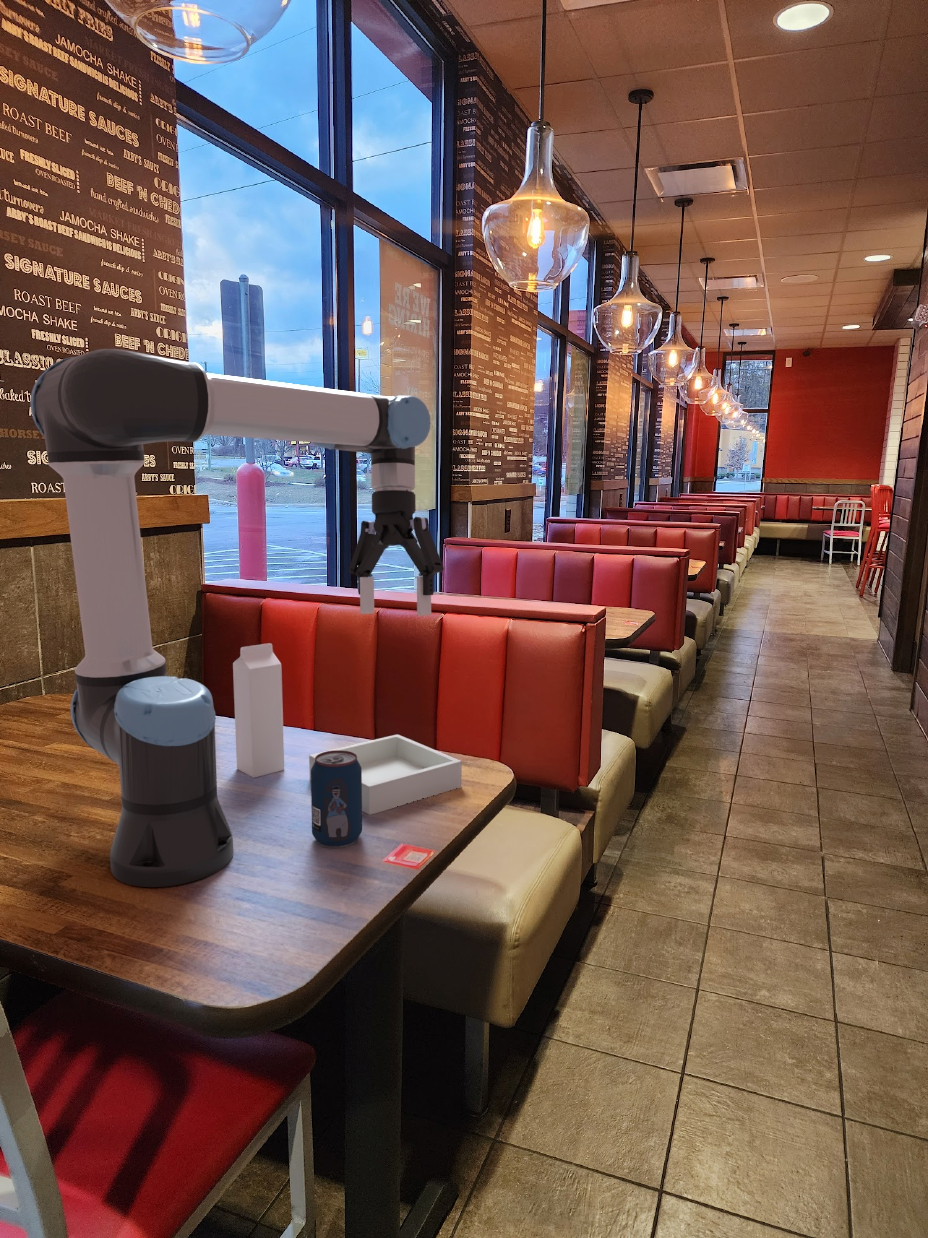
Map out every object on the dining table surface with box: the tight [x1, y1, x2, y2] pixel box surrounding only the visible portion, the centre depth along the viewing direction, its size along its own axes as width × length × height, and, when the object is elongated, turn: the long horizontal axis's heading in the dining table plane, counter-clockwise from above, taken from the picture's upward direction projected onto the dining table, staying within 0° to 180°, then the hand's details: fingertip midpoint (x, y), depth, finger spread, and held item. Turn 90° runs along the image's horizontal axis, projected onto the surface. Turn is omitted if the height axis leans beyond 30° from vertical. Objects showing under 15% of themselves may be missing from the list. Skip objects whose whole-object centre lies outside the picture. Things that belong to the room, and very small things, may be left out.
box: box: [308, 734, 463, 816], centre depth 131 cm, size 18×18×4 cm
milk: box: [232, 643, 285, 779], centre depth 136 cm, size 6×6×22 cm
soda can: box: [310, 750, 363, 849], centre depth 110 cm, size 7×7×12 cm
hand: (394, 614), depth 137 cm, fingers open, 13 cm apart
